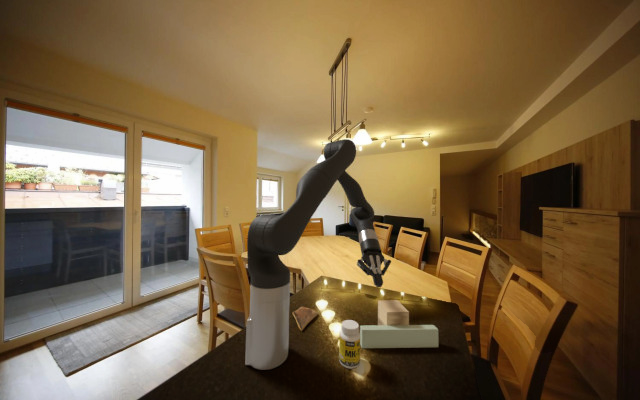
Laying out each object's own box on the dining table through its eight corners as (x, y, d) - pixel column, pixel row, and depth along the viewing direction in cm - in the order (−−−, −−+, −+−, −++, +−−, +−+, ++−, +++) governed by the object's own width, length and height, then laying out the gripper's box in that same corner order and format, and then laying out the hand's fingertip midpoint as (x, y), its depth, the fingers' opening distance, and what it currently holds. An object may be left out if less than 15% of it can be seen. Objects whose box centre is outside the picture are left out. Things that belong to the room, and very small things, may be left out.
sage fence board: (361, 348, 52) (362, 330, 52) (359, 343, 54) (360, 325, 54) (438, 347, 53) (438, 329, 53) (433, 342, 55) (433, 324, 55)
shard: (301, 334, 58) (301, 327, 58) (279, 326, 61) (279, 320, 61) (318, 316, 67) (319, 310, 68) (299, 310, 71) (299, 305, 71)
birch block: (386, 342, 54) (386, 312, 54) (377, 327, 61) (378, 300, 61) (408, 342, 54) (408, 311, 55) (397, 327, 61) (397, 300, 62)
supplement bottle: (343, 371, 44) (344, 331, 44) (336, 356, 49) (336, 320, 49) (363, 367, 45) (364, 328, 46) (354, 352, 50) (354, 317, 50)
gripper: (354, 237, 79) (362, 281, 66) (388, 237, 79) (402, 281, 66) (351, 248, 84) (358, 291, 71) (383, 248, 84) (395, 291, 71)
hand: (379, 286), depth 69 cm, fingers closed
